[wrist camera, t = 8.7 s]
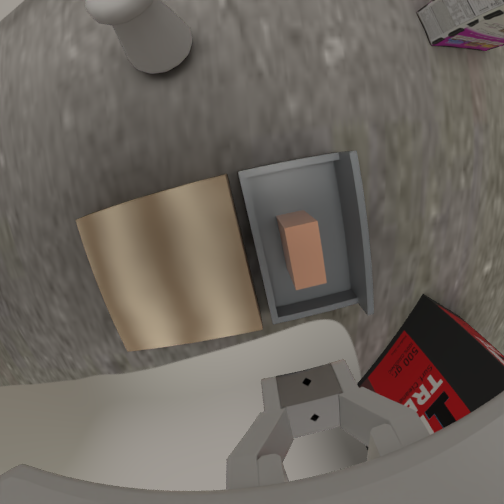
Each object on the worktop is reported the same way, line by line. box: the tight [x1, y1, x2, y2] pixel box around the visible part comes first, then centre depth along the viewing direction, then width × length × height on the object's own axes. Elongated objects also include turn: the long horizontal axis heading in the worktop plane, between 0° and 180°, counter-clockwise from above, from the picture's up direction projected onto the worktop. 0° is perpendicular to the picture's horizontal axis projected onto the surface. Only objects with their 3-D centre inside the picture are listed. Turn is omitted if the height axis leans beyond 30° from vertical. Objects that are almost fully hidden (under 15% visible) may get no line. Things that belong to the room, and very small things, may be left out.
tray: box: [238, 151, 374, 324], centre depth 25 cm, size 9×14×5 cm, turn 13°
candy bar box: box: [417, 0, 504, 51], centre depth 12 cm, size 11×5×16 cm, turn 107°
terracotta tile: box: [276, 210, 327, 290], centre depth 24 cm, size 5×5×2 cm
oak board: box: [76, 174, 263, 352], centre depth 26 cm, size 14×14×3 cm
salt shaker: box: [85, 0, 192, 74], centre depth 15 cm, size 6×6×13 cm
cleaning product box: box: [357, 294, 504, 450], centre depth 23 cm, size 16×9×20 cm, turn 153°
